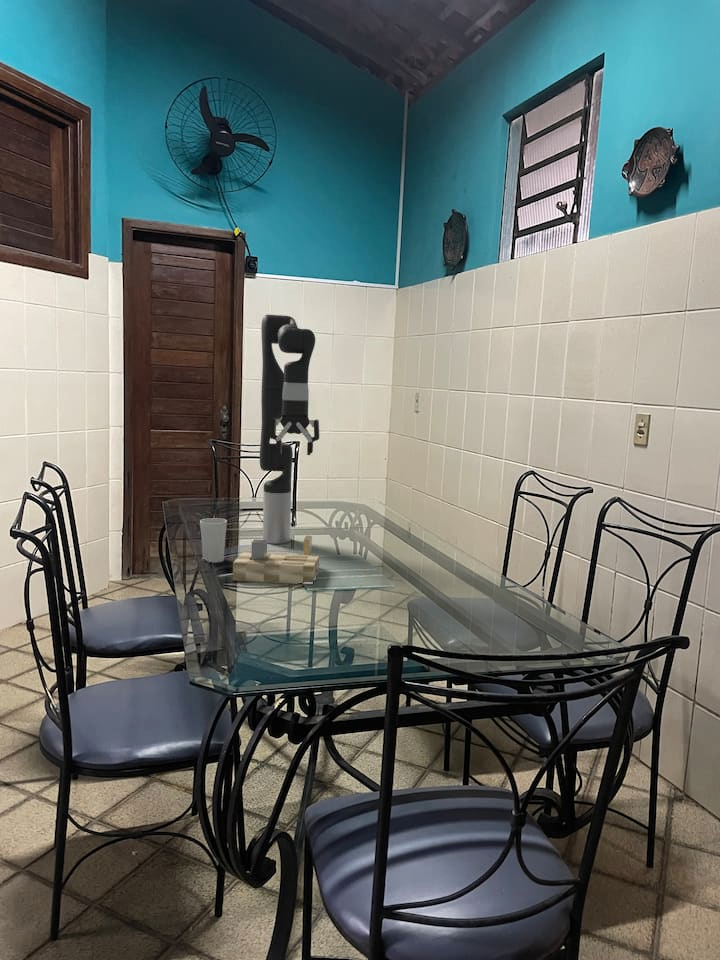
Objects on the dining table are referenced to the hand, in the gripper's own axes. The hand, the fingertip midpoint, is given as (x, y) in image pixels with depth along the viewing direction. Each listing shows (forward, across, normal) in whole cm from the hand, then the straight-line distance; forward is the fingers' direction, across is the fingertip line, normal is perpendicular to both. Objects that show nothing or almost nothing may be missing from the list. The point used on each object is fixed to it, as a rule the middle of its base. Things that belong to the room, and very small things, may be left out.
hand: (294, 454), depth 203 cm
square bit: (+33, +7, +14) cm, 37 cm away
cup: (+33, +24, 0) cm, 41 cm away
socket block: (+33, +2, +14) cm, 36 cm away
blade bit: (+33, -5, +3) cm, 34 cm away
